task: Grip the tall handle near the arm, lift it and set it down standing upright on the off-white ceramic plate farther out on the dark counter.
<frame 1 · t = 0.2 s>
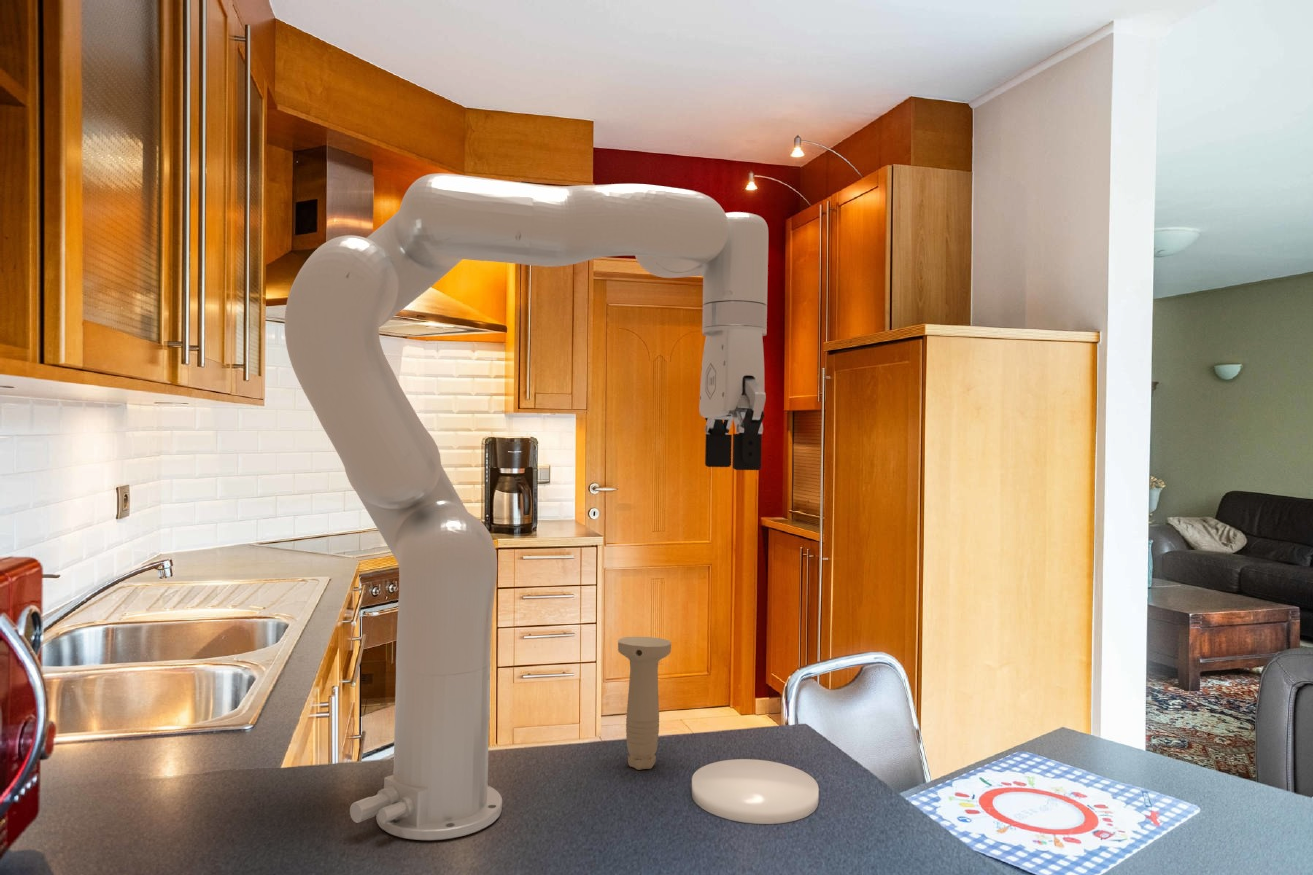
hand: (731, 468, 100), 36 cm above the countertop, tool pointing down, fingers open, 9 cm apart
handle: (641, 767, 103), on the countertop
plate: (754, 795, 95), on the countertop
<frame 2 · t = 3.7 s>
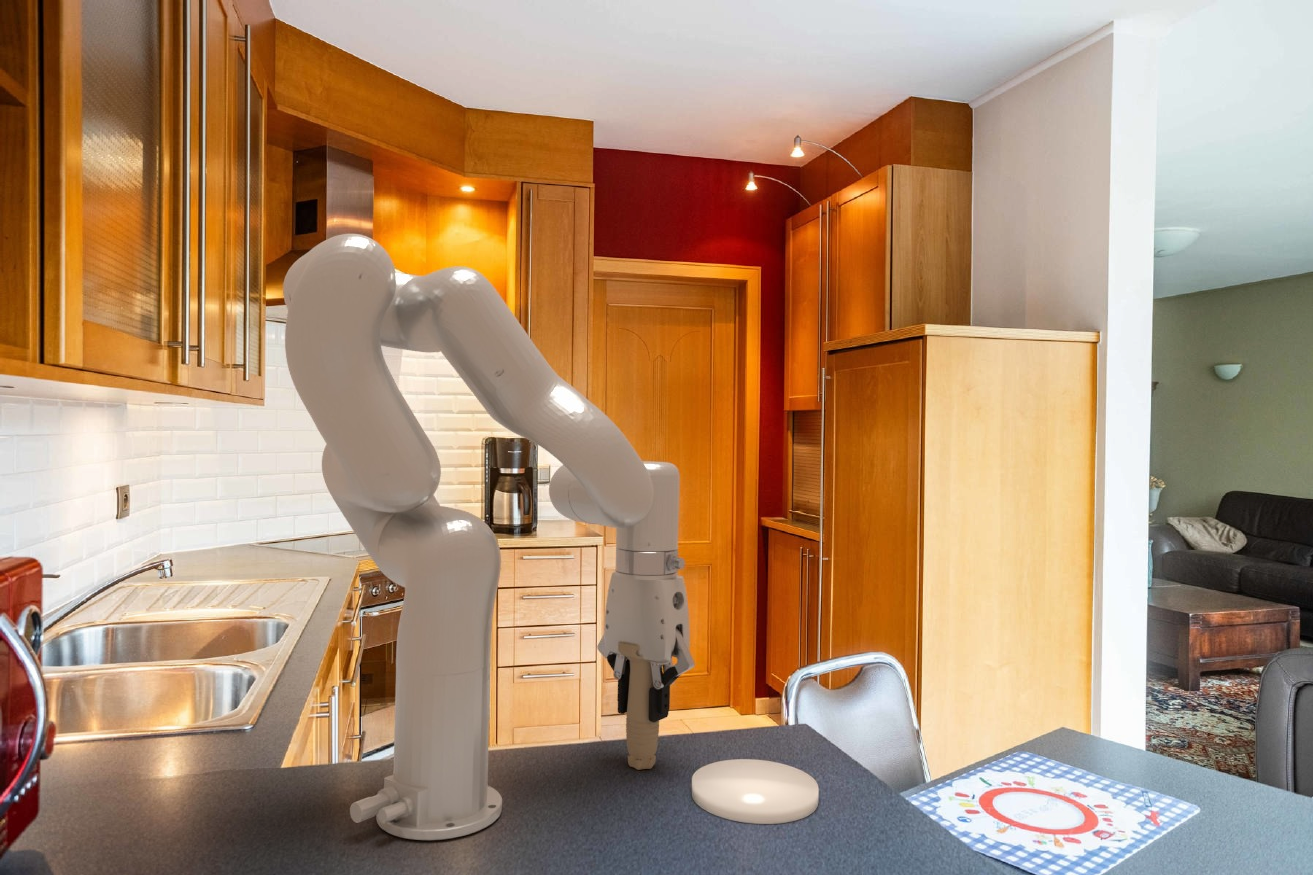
hand: (642, 713, 103), 6 cm above the countertop, tool pointing down, fingers closed on handle, 4 cm apart
handle: (641, 767, 103), on the countertop, touching gripper
when the fingers open (9 cm above the countertop, at t = 9.8 s): handle stays where it is, resting on plate.
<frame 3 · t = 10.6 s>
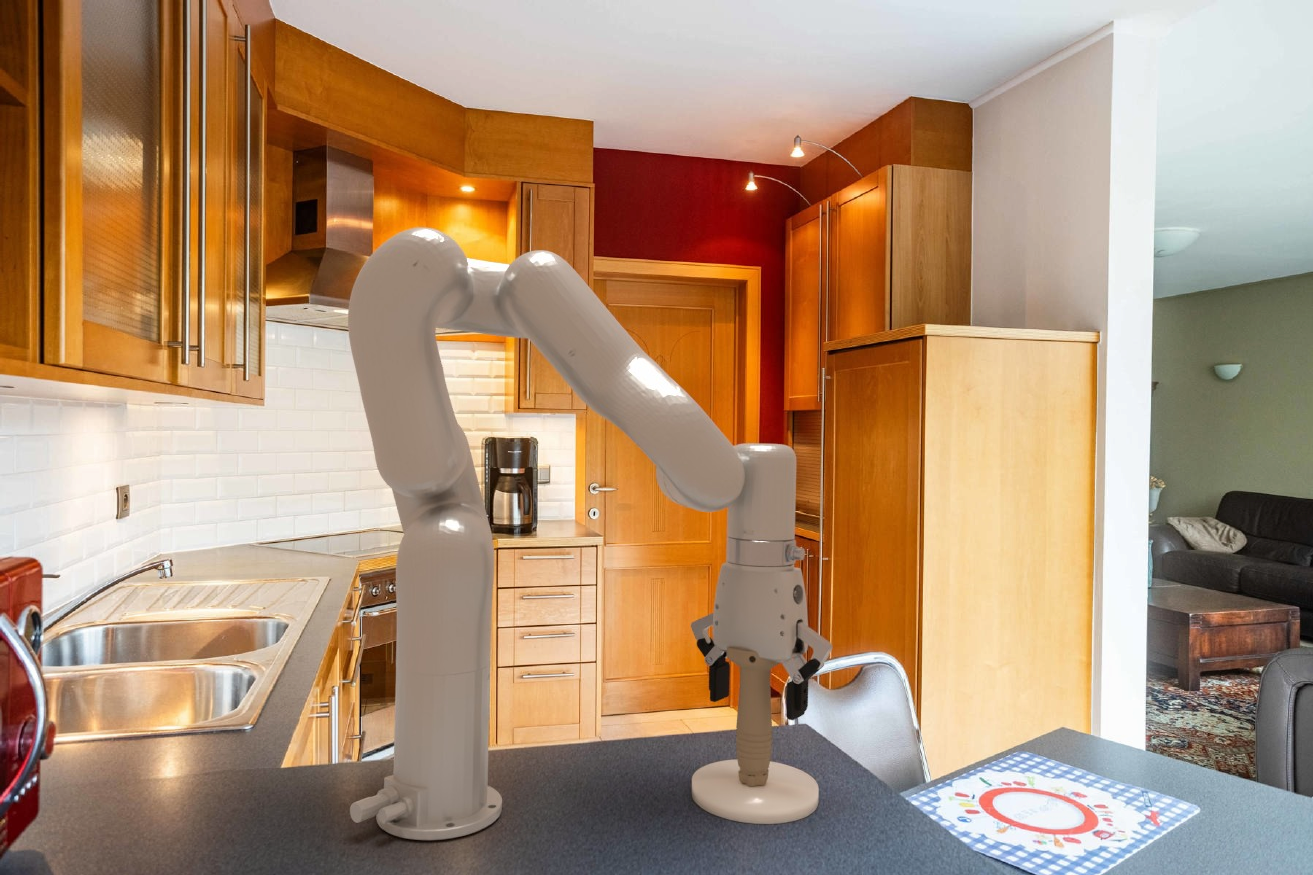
hand: (756, 707, 95), 10 cm above the countertop, tool pointing down, fingers open, 9 cm apart
handle: (753, 783, 95), point 1 cm above the countertop, touching plate
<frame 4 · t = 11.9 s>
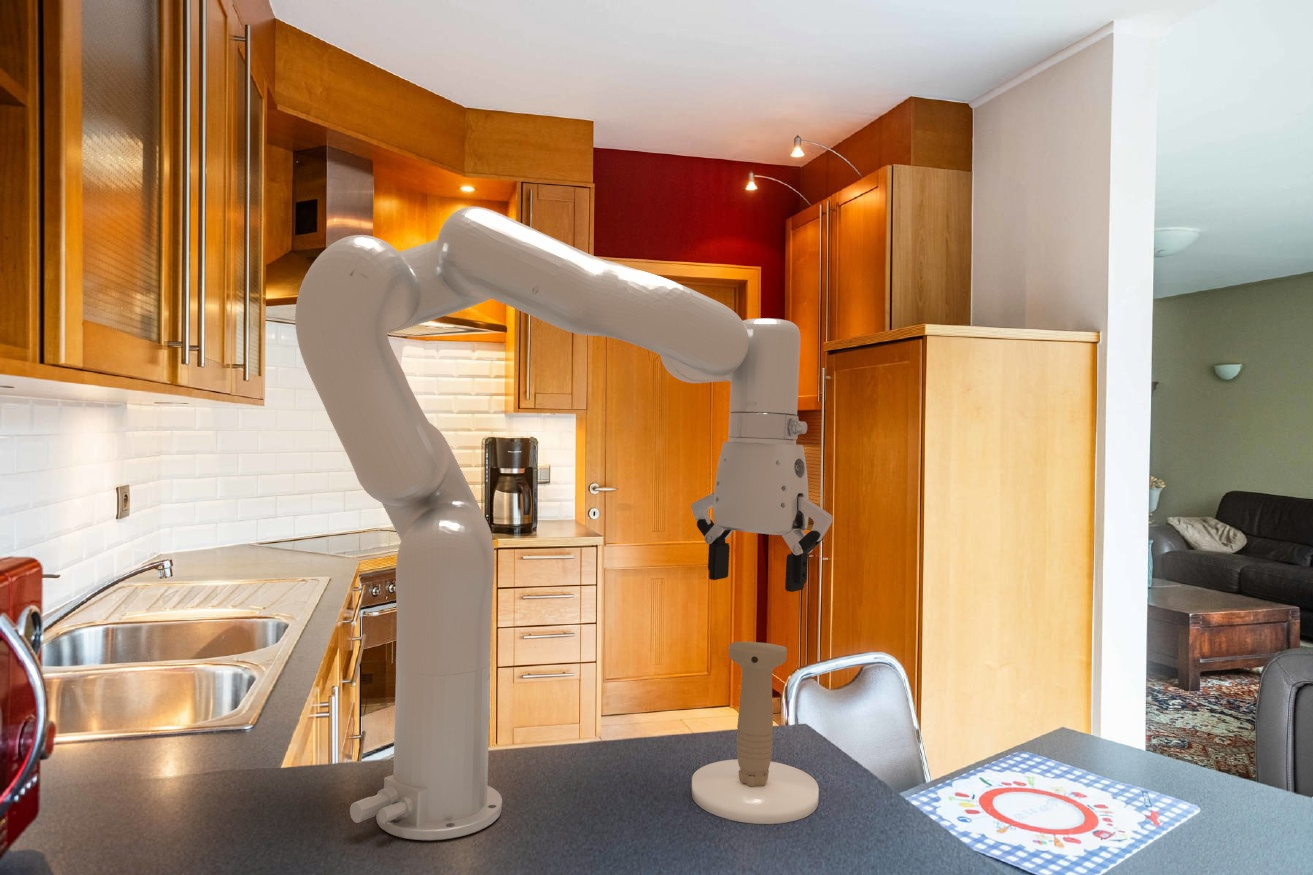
hand: (755, 584, 95), 24 cm above the countertop, tool pointing down, fingers open, 9 cm apart
nothing on the countertop moved.
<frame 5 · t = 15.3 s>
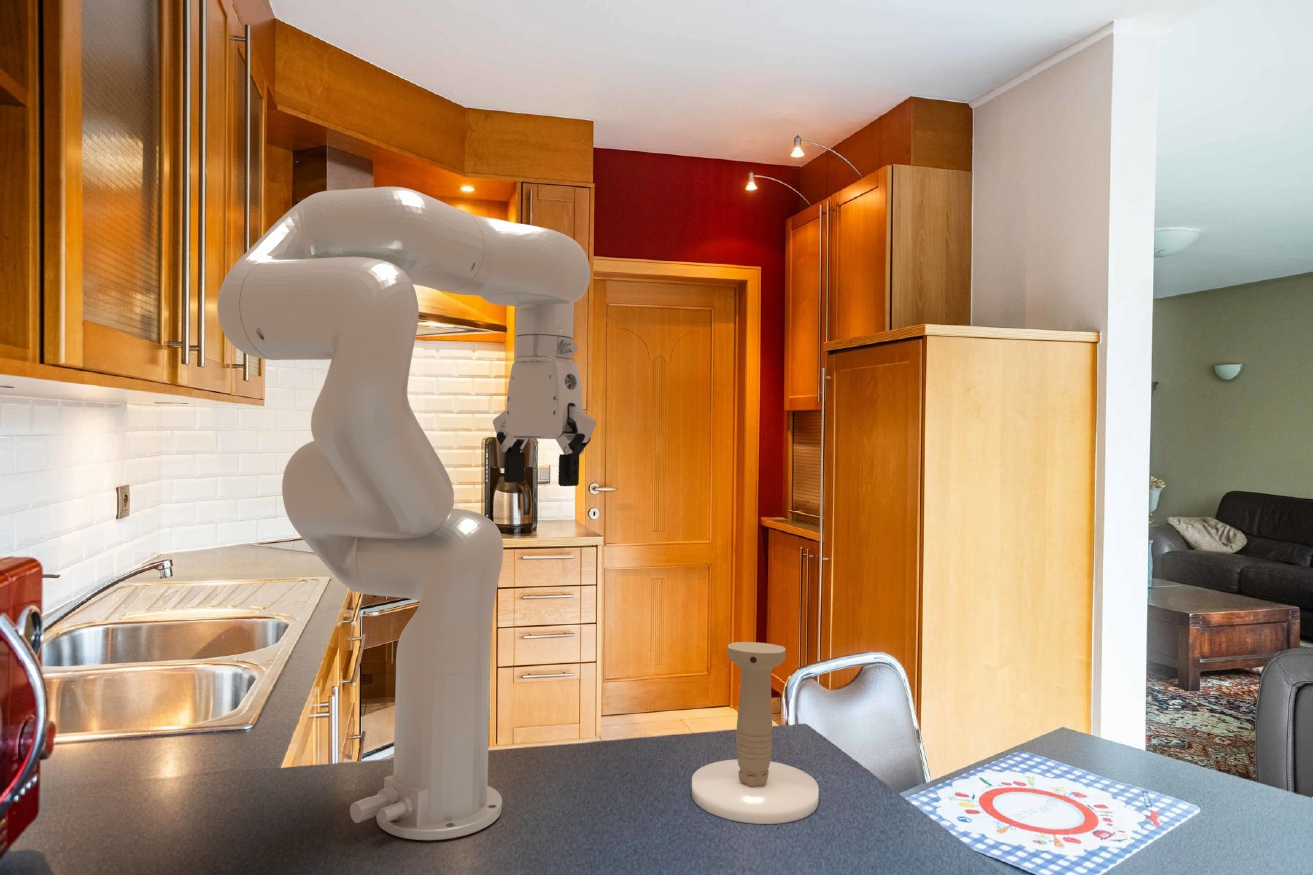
hand: (540, 483, 111), 33 cm above the countertop, tool pointing down, fingers open, 9 cm apart
nothing on the countertop moved.
at the end: handle inside the target area on the plate (0.1 cm from its centre), point 1.3 cm above the plate's base; handle tilted 0°; the gripper is holding nothing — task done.
